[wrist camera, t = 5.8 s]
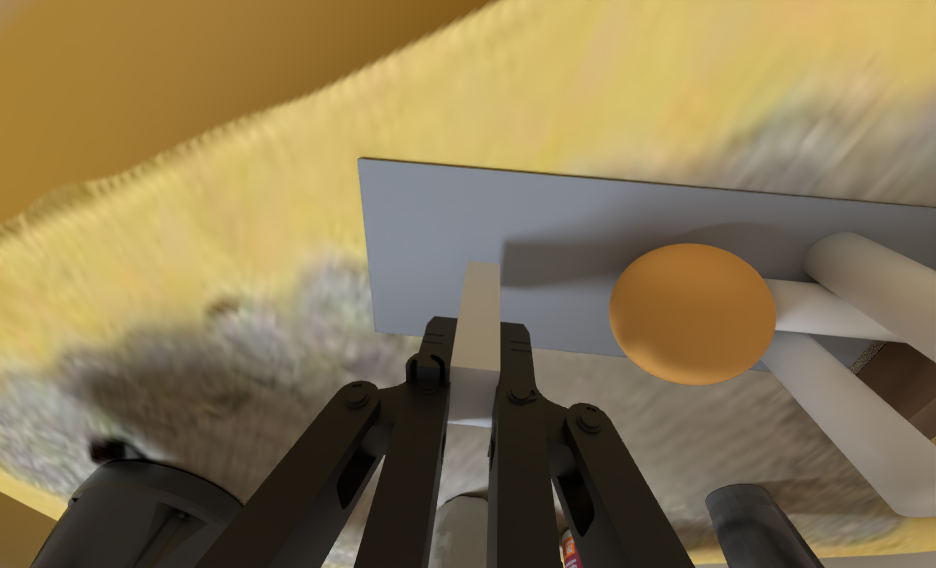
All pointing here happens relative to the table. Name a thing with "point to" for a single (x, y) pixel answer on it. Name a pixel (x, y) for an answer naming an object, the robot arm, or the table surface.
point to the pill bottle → (570, 551)
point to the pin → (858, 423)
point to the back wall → (905, 384)
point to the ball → (692, 314)
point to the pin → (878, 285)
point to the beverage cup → (756, 530)
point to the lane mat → (586, 243)
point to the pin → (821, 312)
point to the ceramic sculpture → (460, 534)
